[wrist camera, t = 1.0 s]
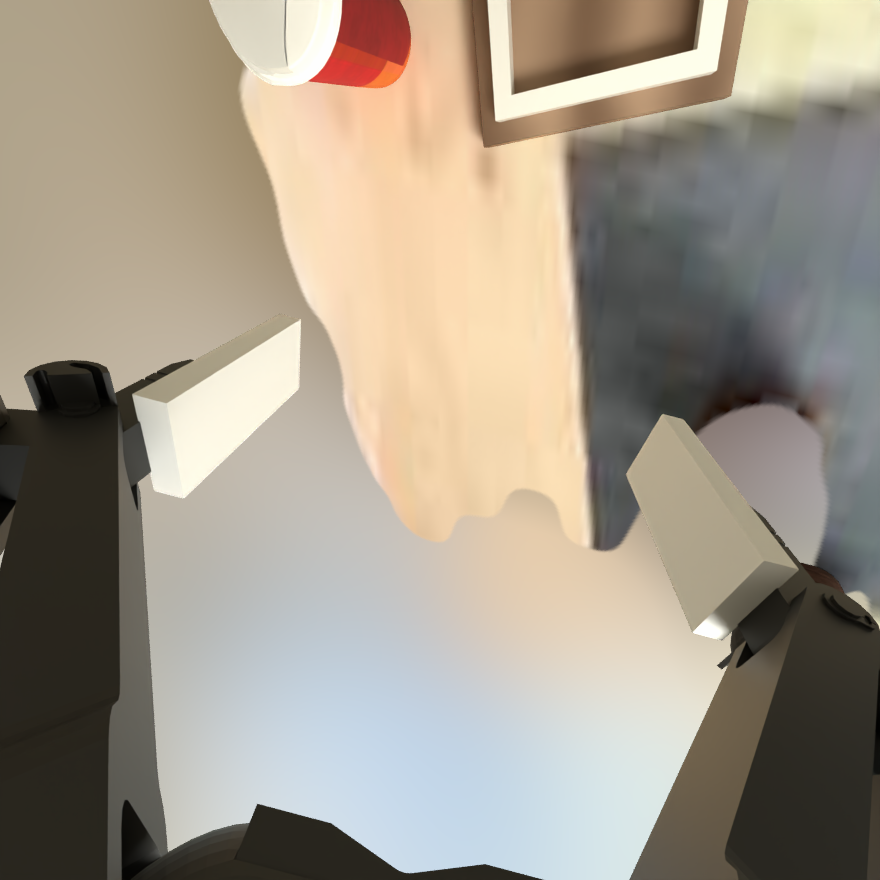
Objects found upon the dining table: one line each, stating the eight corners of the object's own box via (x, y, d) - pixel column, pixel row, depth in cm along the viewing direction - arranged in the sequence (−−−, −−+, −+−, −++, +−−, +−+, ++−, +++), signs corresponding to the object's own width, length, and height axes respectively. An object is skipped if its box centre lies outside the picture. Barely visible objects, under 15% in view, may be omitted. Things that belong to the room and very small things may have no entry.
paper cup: (358, -67, 28) (207, -207, 17) (444, 17, 29) (354, -63, 18) (316, 61, 33) (178, 17, 22) (392, 130, 34) (295, 120, 23)
